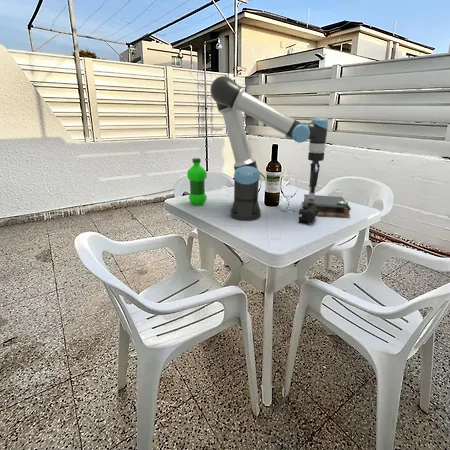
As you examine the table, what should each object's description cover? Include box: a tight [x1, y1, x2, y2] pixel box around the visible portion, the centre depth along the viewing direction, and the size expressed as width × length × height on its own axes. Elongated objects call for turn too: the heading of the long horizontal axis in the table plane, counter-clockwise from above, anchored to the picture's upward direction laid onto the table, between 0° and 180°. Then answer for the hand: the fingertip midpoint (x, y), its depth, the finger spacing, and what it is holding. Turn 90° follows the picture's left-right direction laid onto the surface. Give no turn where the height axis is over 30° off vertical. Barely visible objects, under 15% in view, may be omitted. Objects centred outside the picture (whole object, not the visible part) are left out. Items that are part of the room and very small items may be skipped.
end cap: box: [298, 205, 318, 225], centre depth 139 cm, size 10×7×7 cm
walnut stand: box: [301, 197, 352, 219], centre depth 153 cm, size 21×20×5 cm
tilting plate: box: [303, 193, 350, 208], centre depth 152 cm, size 20×16×3 cm
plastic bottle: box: [186, 157, 208, 206], centre depth 160 cm, size 10×10×25 cm
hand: (311, 198), depth 153 cm, fingers closed
